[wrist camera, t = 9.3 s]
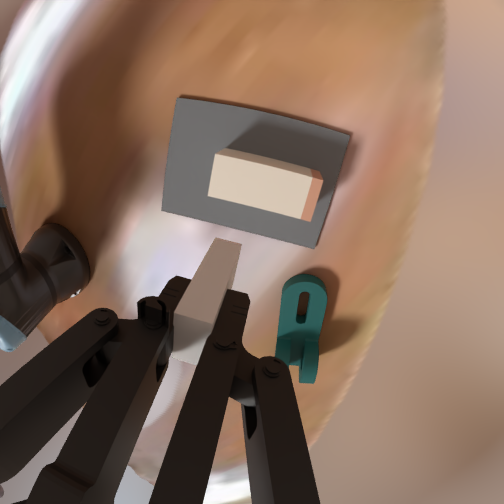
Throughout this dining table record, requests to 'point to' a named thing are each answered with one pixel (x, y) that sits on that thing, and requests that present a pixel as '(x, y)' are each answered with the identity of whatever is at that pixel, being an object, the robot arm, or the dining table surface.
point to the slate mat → (255, 142)
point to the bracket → (301, 325)
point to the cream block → (265, 183)
